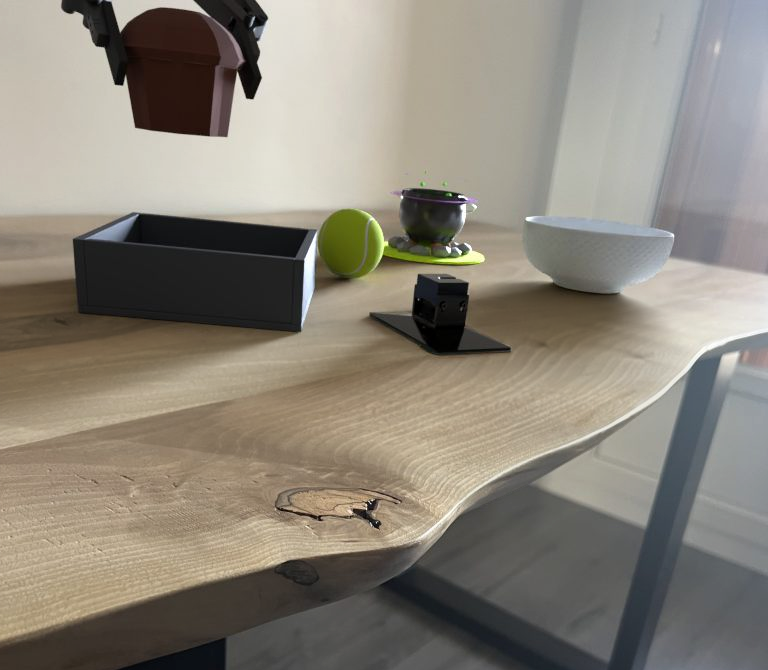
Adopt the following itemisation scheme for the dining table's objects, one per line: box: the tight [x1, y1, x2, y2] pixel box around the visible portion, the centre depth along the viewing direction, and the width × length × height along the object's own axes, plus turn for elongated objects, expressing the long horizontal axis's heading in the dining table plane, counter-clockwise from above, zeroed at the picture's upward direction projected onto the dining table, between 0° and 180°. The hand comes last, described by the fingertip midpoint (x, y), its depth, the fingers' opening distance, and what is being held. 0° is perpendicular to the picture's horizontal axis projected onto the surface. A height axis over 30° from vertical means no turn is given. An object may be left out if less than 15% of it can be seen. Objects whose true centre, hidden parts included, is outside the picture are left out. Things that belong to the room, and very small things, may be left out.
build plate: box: [368, 273, 512, 356], centre depth 68 cm, size 12×7×5 cm, turn 27°
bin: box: [72, 211, 319, 333], centre depth 71 cm, size 18×18×6 cm
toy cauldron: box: [382, 161, 485, 265], centre depth 105 cm, size 15×15×11 cm
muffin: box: [120, 6, 246, 138], centre depth 76 cm, size 12×11×10 cm
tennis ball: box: [317, 208, 385, 279], centre depth 86 cm, size 7×7×7 cm
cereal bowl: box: [521, 215, 675, 294], centre depth 95 cm, size 17×17×7 cm
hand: (190, 81), depth 74 cm, fingers closed on muffin, 12 cm apart
